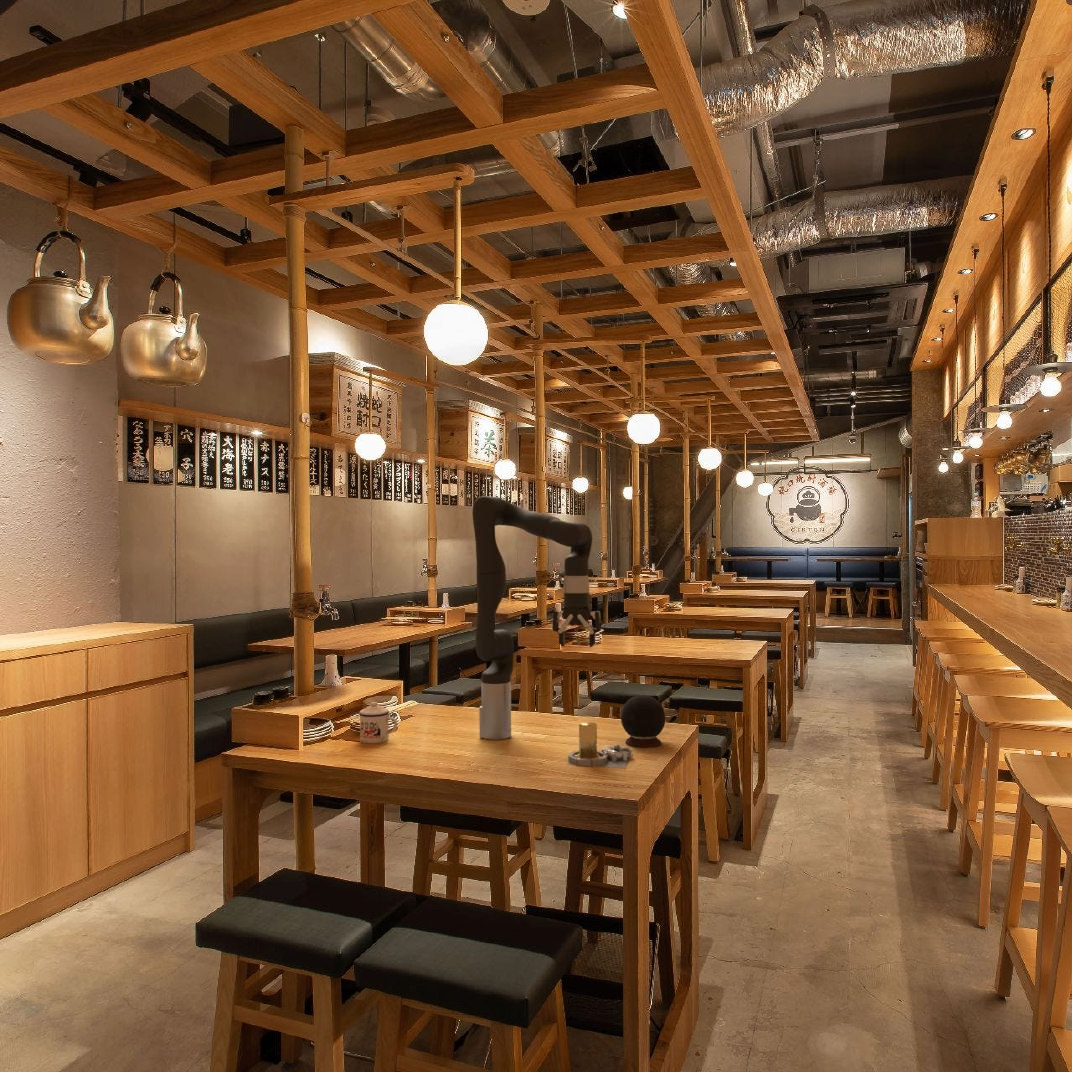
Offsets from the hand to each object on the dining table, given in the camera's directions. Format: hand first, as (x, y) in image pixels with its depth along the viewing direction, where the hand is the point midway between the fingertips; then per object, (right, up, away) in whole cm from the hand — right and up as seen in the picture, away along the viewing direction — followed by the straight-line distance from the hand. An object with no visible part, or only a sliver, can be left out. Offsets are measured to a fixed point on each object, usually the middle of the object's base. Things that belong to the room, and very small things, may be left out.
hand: (577, 646), depth 225 cm
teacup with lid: (-61, -31, +12) cm, 69 cm away
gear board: (+6, -30, -14) cm, 34 cm away
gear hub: (+2, -29, -16) cm, 33 cm away
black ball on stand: (+20, -30, +2) cm, 36 cm away
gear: (+10, -29, -13) cm, 33 cm away
